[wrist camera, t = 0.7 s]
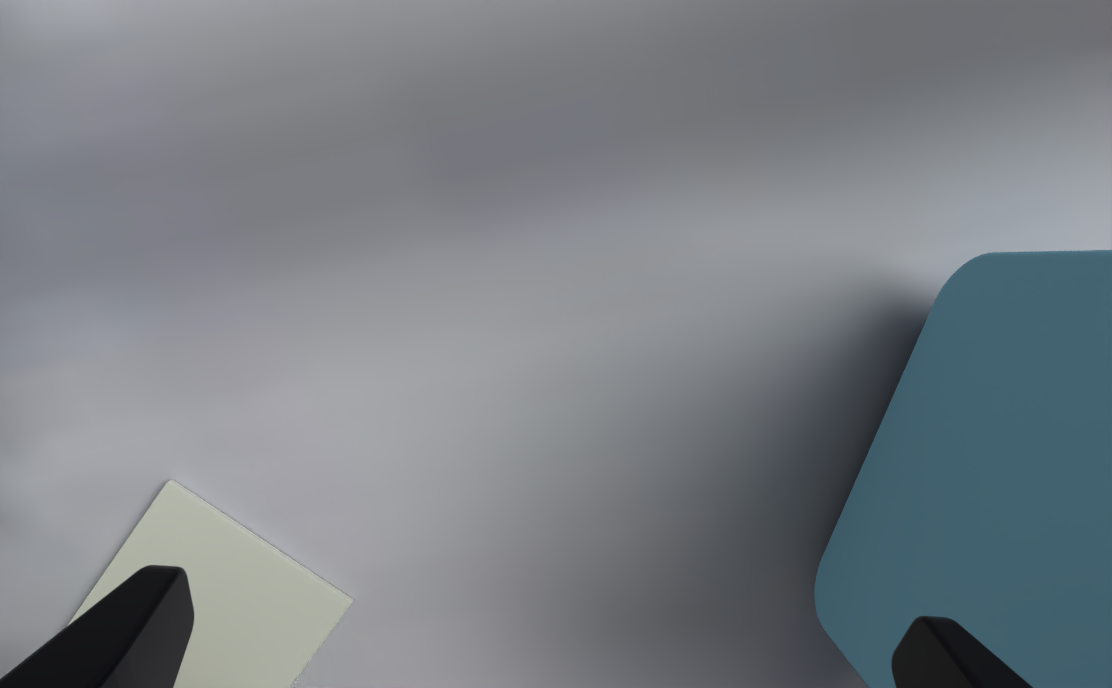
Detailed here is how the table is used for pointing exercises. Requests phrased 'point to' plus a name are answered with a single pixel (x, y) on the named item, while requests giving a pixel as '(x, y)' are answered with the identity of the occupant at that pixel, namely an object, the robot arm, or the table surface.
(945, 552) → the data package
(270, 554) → the domino mat
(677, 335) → the table surface
